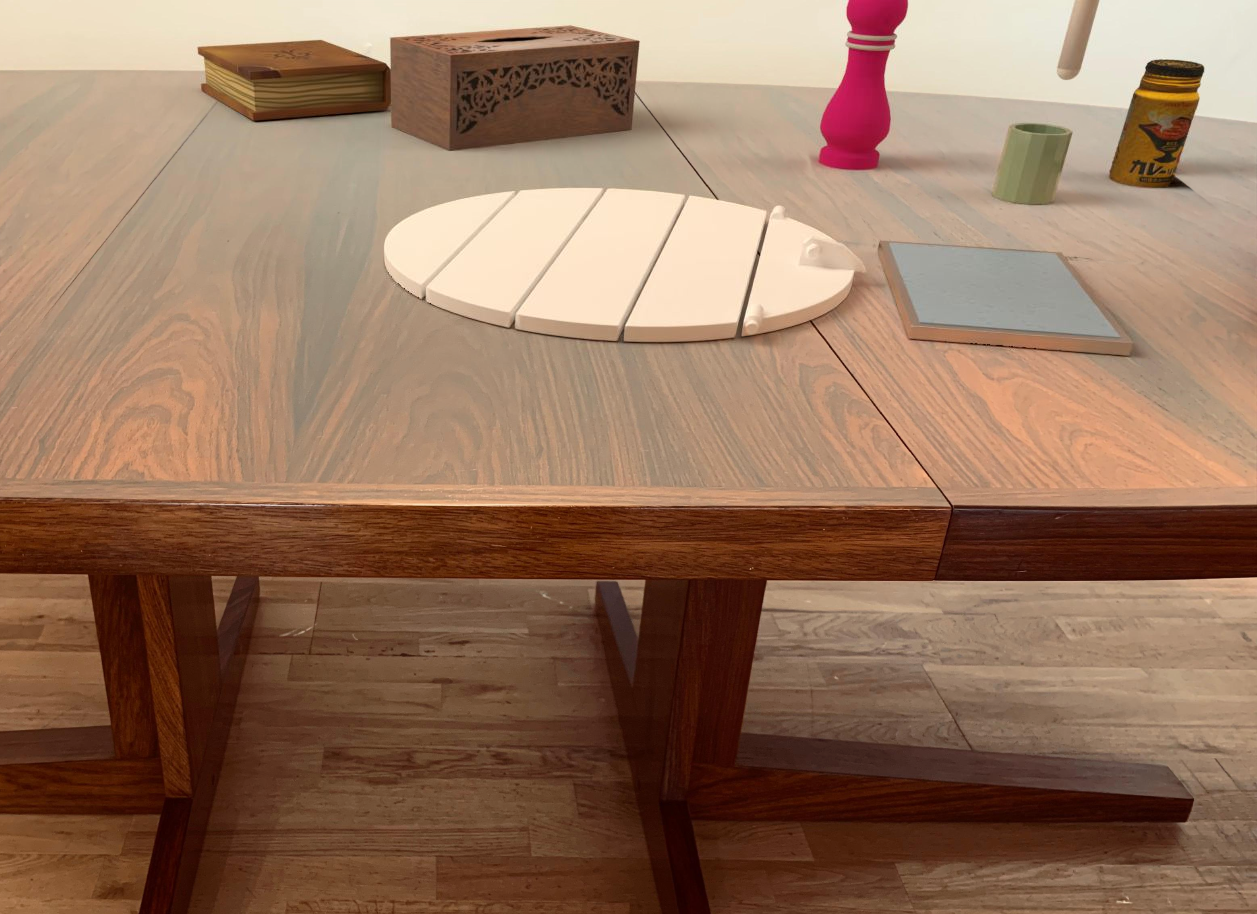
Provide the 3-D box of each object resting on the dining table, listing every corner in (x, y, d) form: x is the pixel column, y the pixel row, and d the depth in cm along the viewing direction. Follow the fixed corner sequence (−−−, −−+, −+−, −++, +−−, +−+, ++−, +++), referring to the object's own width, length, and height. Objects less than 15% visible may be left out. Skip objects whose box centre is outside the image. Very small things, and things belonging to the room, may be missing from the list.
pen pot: (1044, 196, 122) (1064, 124, 118) (1057, 211, 117) (1078, 136, 113) (986, 193, 123) (1004, 121, 119) (996, 207, 118) (1016, 133, 114)
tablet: (1058, 263, 103) (1062, 251, 102) (1129, 356, 84) (1134, 342, 84) (877, 251, 105) (879, 239, 104) (908, 339, 87) (911, 324, 86)
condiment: (1158, 197, 122) (1199, 70, 116) (1075, 181, 127) (1110, 59, 121) (1185, 185, 126) (1226, 63, 120) (1103, 170, 132) (1138, 52, 125)
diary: (392, 111, 155) (391, 62, 152) (253, 122, 148) (250, 72, 145) (328, 81, 172) (326, 37, 169) (201, 90, 165) (197, 45, 162)
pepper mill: (811, 171, 130) (846, -36, 119) (815, 157, 135) (849, -42, 125) (880, 177, 128) (923, -33, 117) (882, 163, 133) (922, -39, 123)
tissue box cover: (449, 150, 136) (450, 55, 131) (391, 126, 147) (390, 37, 141) (631, 129, 147) (639, 40, 142) (565, 108, 157) (570, 25, 152)
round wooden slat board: (863, 221, 113) (870, 184, 111) (862, 371, 81) (872, 322, 79) (457, 186, 122) (457, 151, 121) (314, 307, 91) (312, 263, 89)
